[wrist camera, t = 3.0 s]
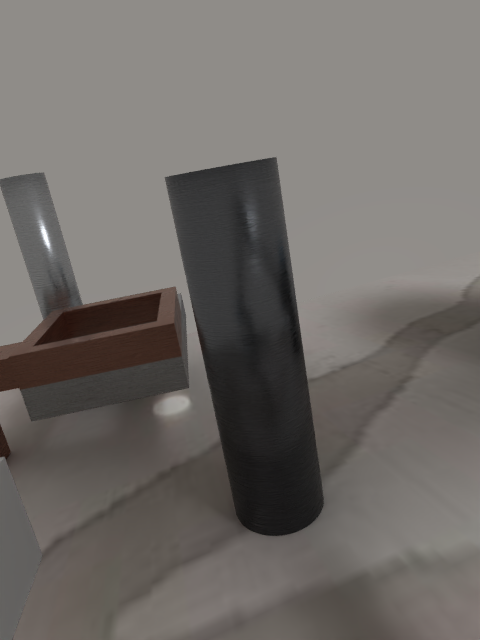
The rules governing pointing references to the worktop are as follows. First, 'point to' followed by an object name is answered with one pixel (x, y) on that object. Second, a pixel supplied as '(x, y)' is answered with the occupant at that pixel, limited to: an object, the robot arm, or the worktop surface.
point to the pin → (250, 339)
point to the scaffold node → (84, 326)
